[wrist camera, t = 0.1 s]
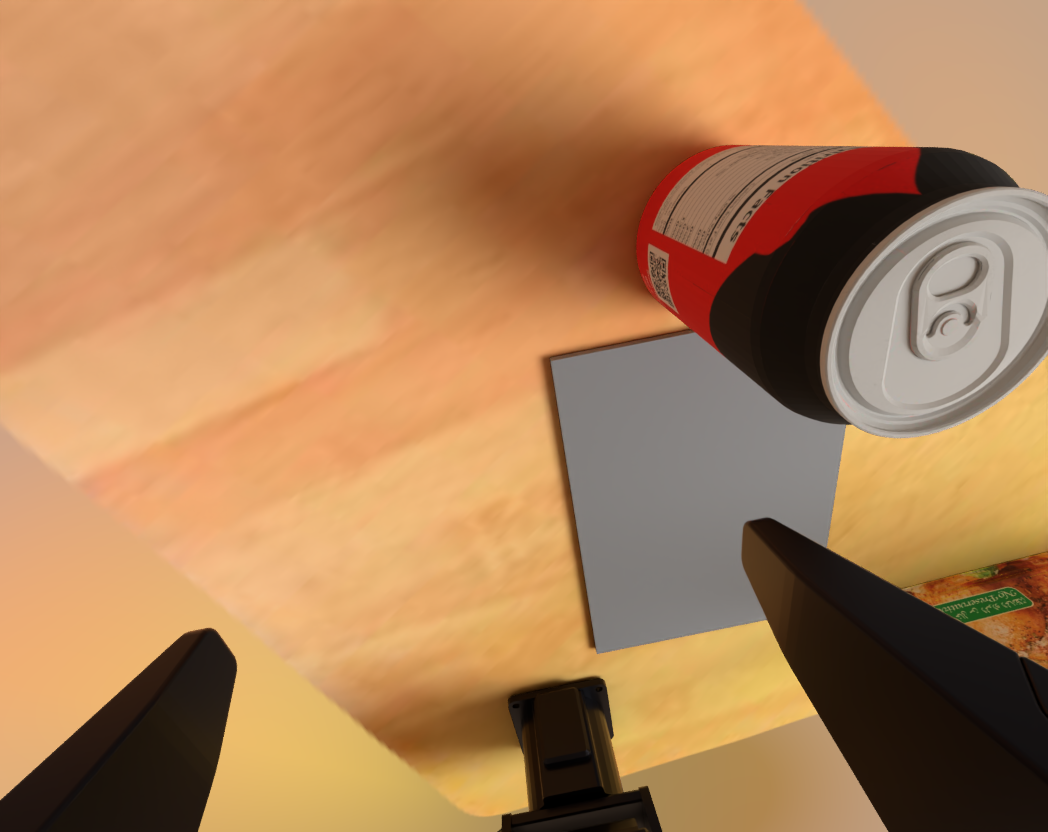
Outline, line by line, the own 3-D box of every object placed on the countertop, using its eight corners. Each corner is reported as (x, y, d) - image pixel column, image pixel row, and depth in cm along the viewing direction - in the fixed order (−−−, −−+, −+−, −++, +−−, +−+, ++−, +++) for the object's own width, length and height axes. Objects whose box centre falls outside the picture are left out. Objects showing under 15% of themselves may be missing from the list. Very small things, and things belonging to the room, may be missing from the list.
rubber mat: (813, 604, 32) (816, 609, 32) (595, 648, 32) (597, 653, 32) (859, 295, 23) (866, 298, 22) (549, 357, 22) (550, 361, 22)
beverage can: (643, 328, 22) (801, 495, 12) (613, 177, 19) (789, 218, 9) (784, 282, 22) (1077, 411, 11) (776, 121, 19) (1163, 94, 8)
